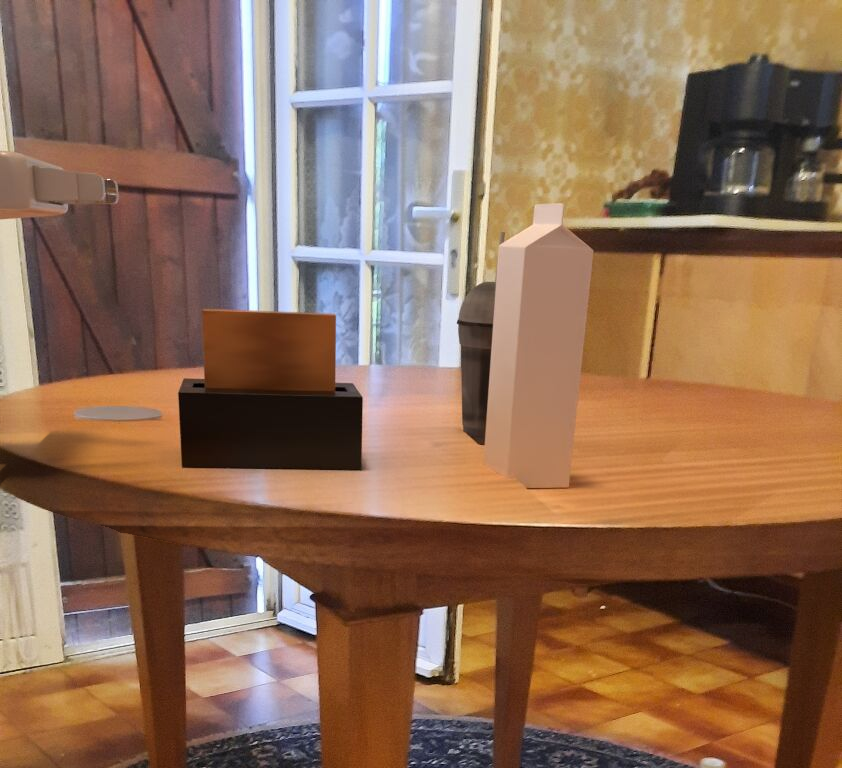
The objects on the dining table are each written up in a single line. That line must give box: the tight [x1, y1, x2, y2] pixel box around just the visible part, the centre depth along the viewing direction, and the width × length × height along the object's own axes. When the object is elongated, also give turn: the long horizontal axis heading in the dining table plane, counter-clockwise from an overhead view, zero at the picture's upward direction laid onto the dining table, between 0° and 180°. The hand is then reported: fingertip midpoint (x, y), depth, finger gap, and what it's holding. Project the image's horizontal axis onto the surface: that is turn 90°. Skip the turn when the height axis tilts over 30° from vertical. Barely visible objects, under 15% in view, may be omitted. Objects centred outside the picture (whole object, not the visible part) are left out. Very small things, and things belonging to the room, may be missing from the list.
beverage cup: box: [456, 231, 506, 446], centre depth 109 cm, size 7×7×20 cm
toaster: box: [177, 377, 364, 472], centre depth 93 cm, size 15×9×7 cm, turn 98°
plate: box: [73, 405, 164, 422], centre depth 112 cm, size 9×9×1 cm
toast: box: [201, 308, 337, 391], centre depth 91 cm, size 11×2×12 cm, turn 98°
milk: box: [482, 202, 594, 489], centre depth 90 cm, size 6×6×22 cm
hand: (111, 190), depth 83 cm, fingers open, 8 cm apart
